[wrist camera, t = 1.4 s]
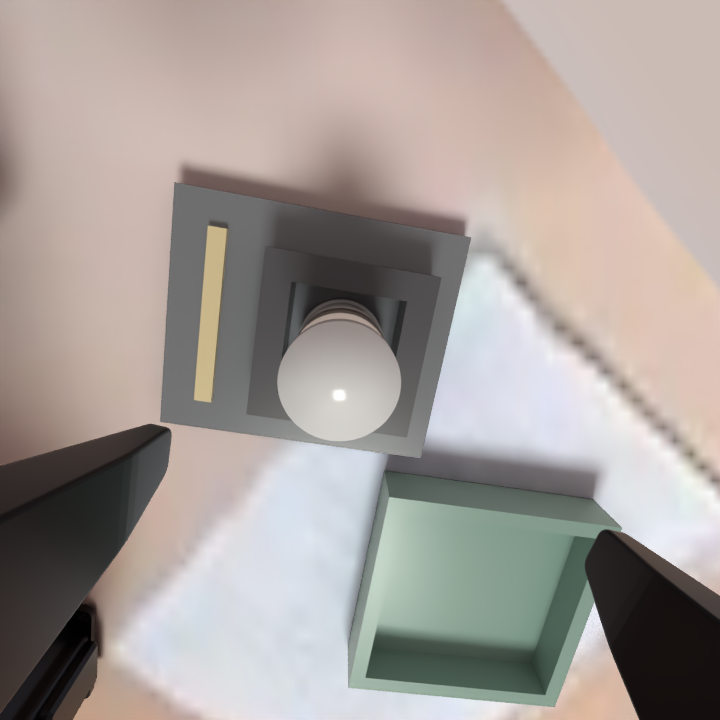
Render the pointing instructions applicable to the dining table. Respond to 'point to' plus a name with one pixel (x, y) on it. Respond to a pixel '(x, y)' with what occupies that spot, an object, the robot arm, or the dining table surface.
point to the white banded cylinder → (339, 373)
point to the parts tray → (473, 590)
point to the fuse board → (297, 309)
